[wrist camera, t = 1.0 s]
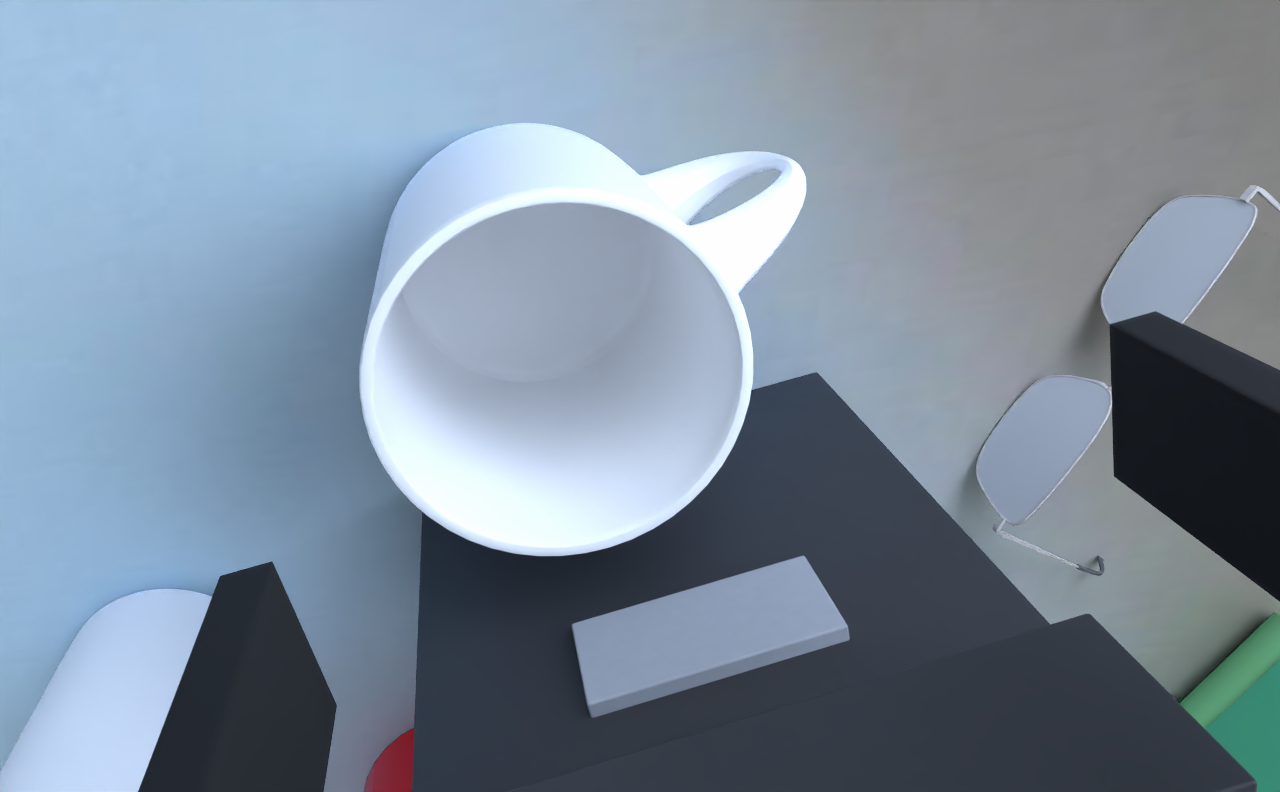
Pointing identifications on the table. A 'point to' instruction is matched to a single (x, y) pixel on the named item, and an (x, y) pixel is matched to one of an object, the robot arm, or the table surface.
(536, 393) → the mug
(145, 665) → the can
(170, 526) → the table surface
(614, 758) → the coffee maker
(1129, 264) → the eyeglasses
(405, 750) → the mug
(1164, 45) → the table surface
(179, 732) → the robot arm
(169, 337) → the table surface
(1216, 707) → the toy tank
